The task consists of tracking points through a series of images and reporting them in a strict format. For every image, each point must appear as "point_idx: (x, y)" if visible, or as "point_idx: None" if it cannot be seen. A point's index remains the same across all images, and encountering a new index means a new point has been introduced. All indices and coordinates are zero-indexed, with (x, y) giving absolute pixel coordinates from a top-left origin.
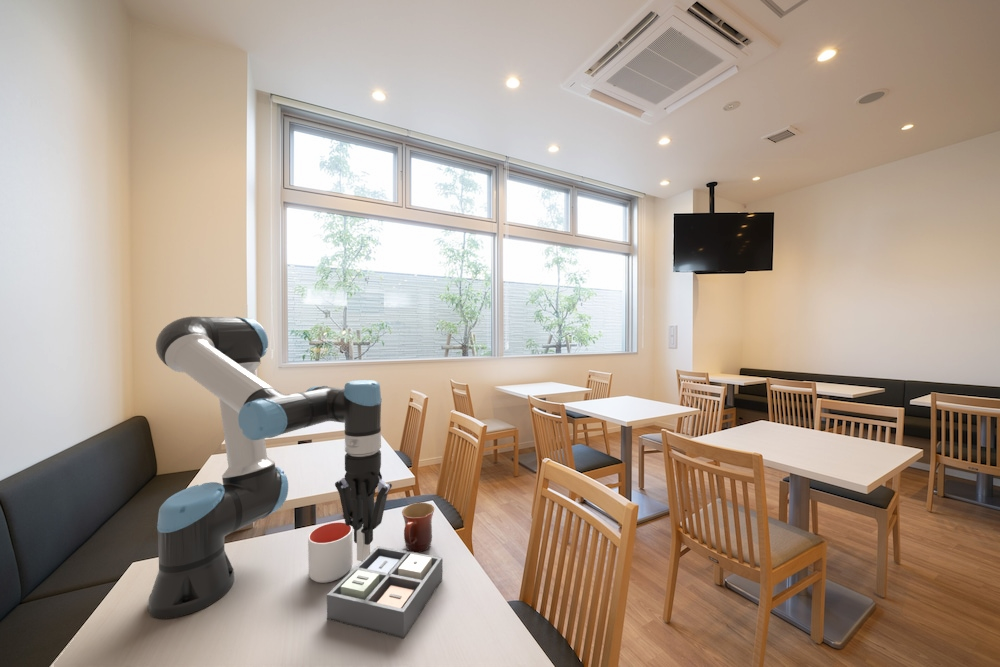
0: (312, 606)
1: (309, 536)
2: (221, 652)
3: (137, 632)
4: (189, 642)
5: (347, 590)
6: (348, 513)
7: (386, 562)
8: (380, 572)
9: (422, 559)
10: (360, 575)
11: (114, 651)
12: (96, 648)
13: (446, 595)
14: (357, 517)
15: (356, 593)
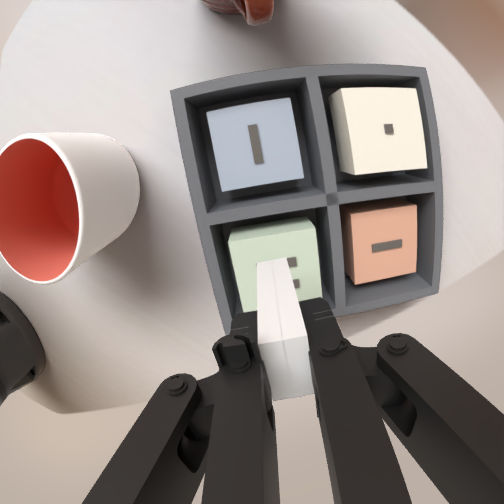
0: (167, 289)
1: (9, 264)
2: (148, 394)
3: (45, 389)
4: (98, 391)
5: None
6: (196, 483)
7: (257, 129)
8: (297, 201)
9: (397, 104)
10: (259, 258)
11: (62, 408)
12: (48, 406)
13: None
14: (276, 464)
15: None
